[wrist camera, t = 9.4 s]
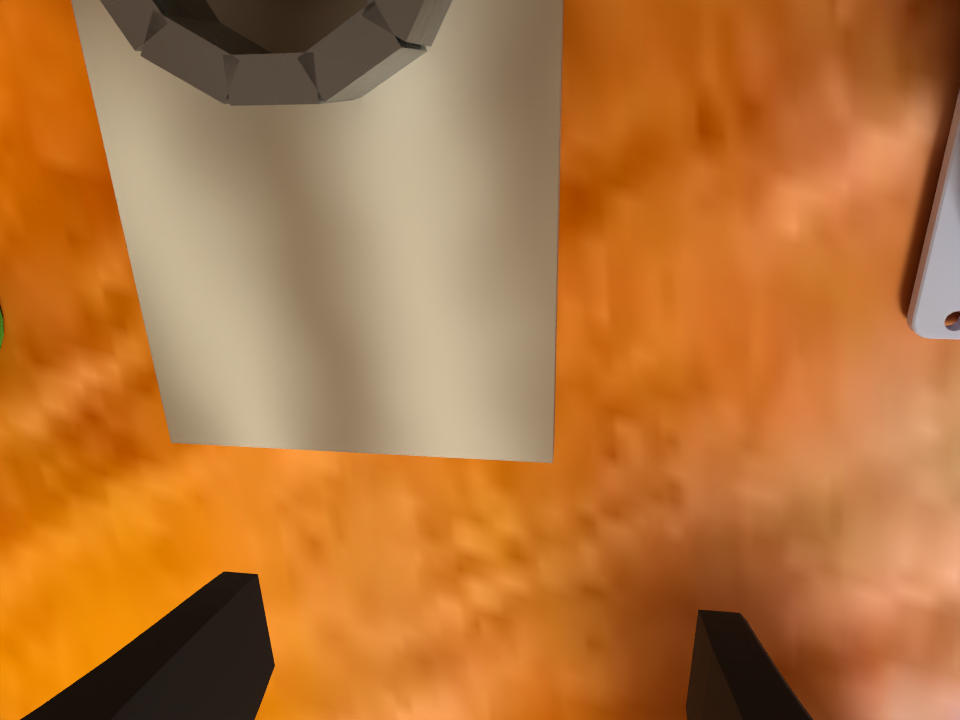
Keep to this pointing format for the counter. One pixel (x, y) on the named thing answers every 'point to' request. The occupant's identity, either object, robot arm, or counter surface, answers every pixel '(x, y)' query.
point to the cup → (1, 329)
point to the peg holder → (340, 216)
